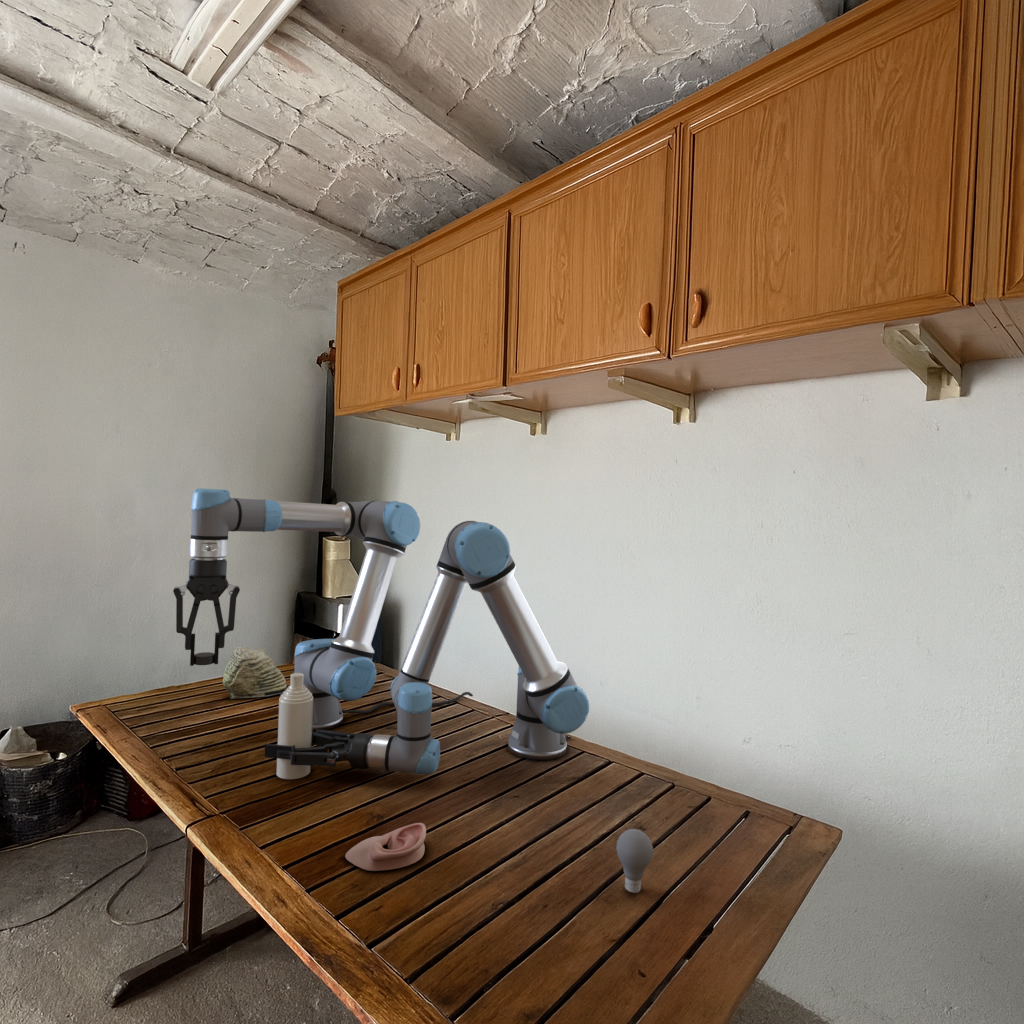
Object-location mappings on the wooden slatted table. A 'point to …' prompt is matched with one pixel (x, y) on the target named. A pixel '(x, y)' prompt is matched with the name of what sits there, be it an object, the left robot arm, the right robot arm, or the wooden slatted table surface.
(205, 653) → the cap
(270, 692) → the fossil
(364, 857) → the anatomical model
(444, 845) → the wooden slatted table surface
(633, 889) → the light bulb
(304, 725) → the bottle
